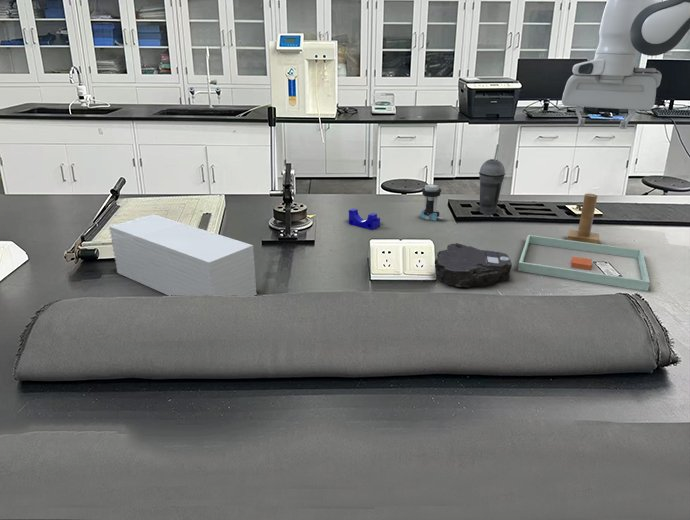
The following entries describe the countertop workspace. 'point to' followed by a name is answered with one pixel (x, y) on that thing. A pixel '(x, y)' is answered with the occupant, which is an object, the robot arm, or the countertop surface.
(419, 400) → the countertop surface
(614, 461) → the countertop surface
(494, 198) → the beverage cup
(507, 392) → the countertop surface
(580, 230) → the brush
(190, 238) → the stack of papers
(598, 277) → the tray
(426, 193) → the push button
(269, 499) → the countertop surface
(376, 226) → the cable holder
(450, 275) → the rock sample
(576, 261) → the felt chip
